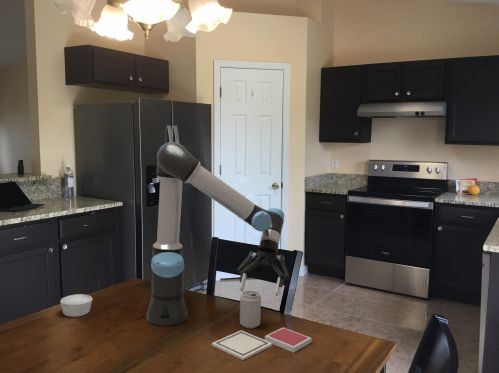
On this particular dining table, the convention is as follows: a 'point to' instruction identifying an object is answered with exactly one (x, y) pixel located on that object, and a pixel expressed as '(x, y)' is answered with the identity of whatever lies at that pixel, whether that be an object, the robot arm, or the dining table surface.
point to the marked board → (242, 344)
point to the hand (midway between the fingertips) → (258, 292)
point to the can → (250, 309)
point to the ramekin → (76, 305)
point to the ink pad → (288, 339)
